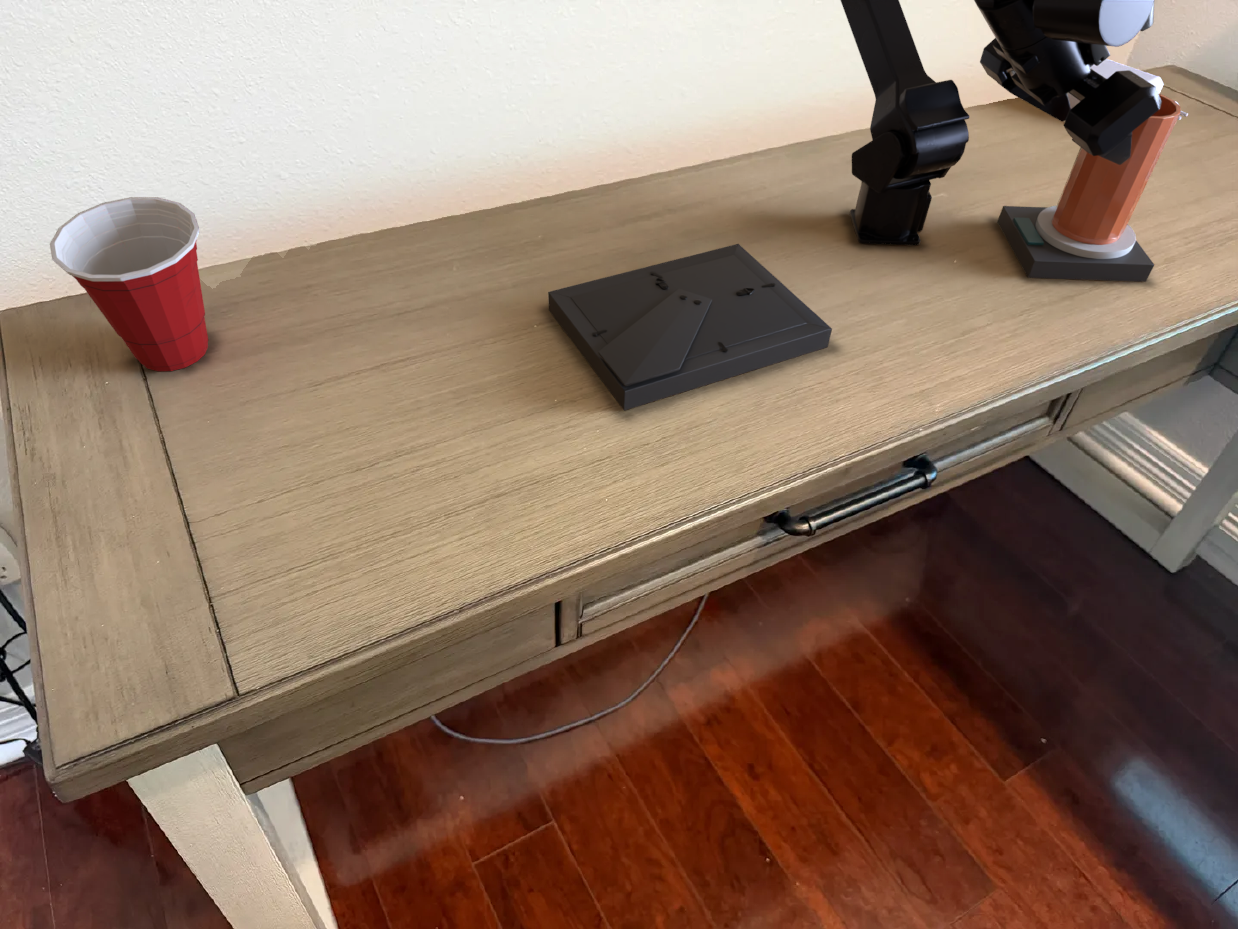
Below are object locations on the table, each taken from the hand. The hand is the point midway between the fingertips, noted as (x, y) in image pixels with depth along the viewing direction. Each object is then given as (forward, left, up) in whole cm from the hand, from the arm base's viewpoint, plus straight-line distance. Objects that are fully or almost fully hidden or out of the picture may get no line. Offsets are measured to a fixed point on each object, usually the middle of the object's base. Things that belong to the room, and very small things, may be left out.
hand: (1094, 138), depth 85 cm
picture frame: (-38, -15, -13) cm, 43 cm away
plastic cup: (-83, -21, -13) cm, 87 cm away
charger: (+22, +36, -13) cm, 44 cm away
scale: (+3, +1, -13) cm, 13 cm away
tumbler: (+3, +1, -10) cm, 10 cm away
